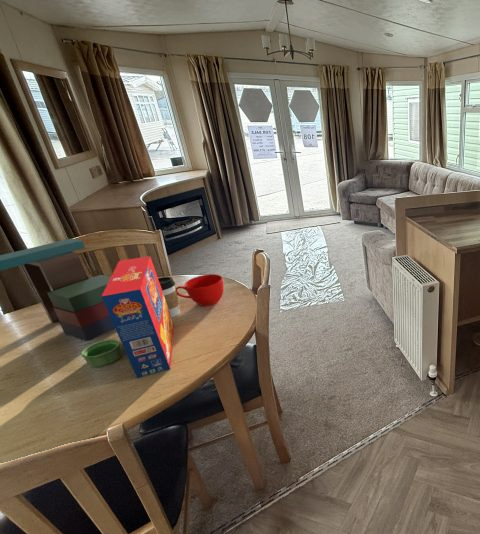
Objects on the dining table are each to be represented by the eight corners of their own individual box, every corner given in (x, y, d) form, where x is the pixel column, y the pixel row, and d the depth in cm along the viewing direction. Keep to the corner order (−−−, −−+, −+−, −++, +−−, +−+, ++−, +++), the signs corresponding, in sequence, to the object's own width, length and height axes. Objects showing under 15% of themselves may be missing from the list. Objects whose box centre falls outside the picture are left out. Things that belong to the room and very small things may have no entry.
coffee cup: (174, 320, 129) (162, 285, 123) (152, 320, 128) (139, 285, 122) (189, 309, 136) (178, 275, 130) (167, 308, 136) (156, 275, 130)
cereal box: (170, 368, 104) (140, 289, 93) (136, 378, 100) (101, 296, 89) (174, 325, 126) (150, 256, 114) (146, 331, 122) (119, 260, 110)
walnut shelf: (51, 322, 125) (17, 257, 115) (83, 309, 134) (55, 248, 123) (72, 328, 122) (39, 262, 112) (104, 314, 131) (77, 252, 120)
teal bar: (-12, 268, 107) (-17, 259, 106) (74, 245, 126) (71, 238, 125) (-1, 270, 105) (-6, 262, 104) (85, 247, 125) (82, 240, 123)
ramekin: (102, 370, 103) (96, 359, 101) (78, 365, 105) (72, 354, 103) (131, 352, 111) (127, 341, 109) (109, 348, 113) (104, 337, 111)
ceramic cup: (184, 299, 143) (177, 278, 139) (229, 292, 149) (224, 272, 145) (175, 314, 132) (168, 292, 128) (225, 306, 139) (219, 285, 134)
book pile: (65, 334, 119) (44, 293, 112) (116, 312, 133) (101, 274, 126) (87, 341, 116) (67, 299, 109) (138, 317, 130) (123, 279, 123)
